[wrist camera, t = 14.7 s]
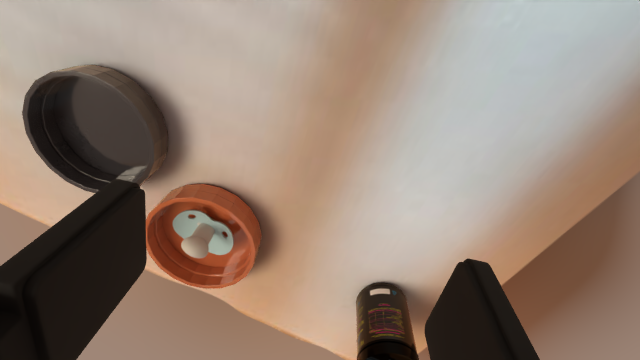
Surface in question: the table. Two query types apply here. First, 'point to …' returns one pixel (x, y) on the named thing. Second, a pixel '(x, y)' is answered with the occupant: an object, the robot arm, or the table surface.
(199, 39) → the table surface
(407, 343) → the supplement container
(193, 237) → the pacifier
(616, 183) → the table surface
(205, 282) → the terracotta bowl
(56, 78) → the charcoal bowl
